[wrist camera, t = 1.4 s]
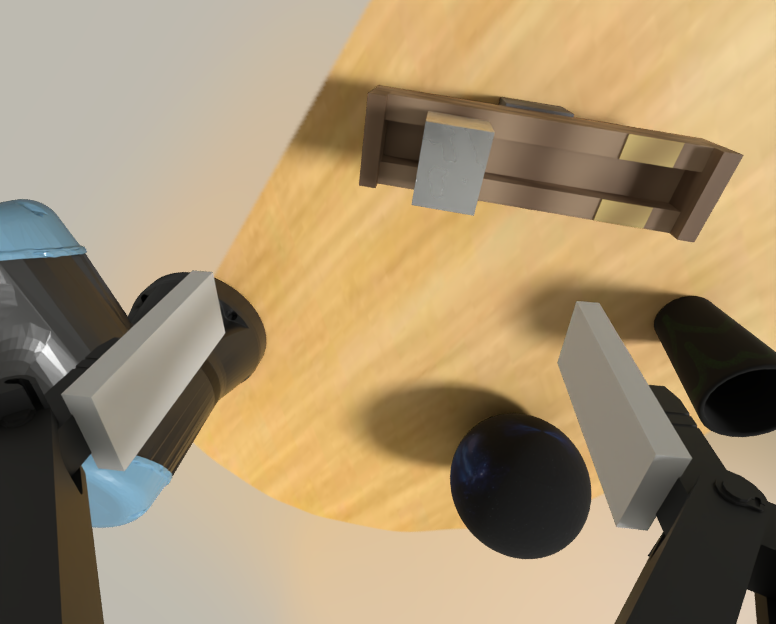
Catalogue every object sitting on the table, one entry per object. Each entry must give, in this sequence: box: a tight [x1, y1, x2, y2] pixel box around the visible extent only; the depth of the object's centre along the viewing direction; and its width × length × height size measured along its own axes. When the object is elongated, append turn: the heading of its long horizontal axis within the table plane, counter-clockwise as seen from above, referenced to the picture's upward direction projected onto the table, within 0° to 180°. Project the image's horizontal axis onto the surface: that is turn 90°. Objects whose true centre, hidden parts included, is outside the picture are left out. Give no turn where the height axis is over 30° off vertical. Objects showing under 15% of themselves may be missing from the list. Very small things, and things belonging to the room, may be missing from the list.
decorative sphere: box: [450, 413, 591, 559], centre depth 49 cm, size 15×15×15 cm
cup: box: [654, 296, 776, 437], centre depth 39 cm, size 8×8×12 cm
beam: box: [359, 85, 743, 242], centre depth 33 cm, size 24×6×9 cm, turn 82°
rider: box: [412, 111, 495, 216], centre depth 29 cm, size 4×5×7 cm
